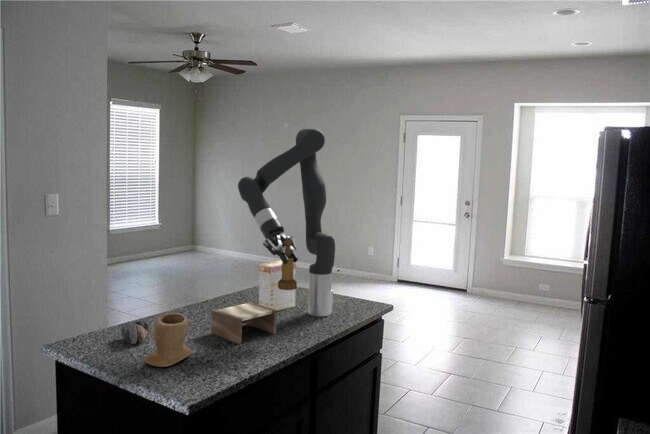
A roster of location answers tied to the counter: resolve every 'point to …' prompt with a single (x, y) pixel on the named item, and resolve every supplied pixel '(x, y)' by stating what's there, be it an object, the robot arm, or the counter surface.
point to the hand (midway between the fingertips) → (291, 261)
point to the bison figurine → (135, 331)
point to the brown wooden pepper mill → (287, 270)
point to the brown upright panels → (232, 325)
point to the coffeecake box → (274, 287)
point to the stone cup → (169, 340)
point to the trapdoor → (246, 311)
